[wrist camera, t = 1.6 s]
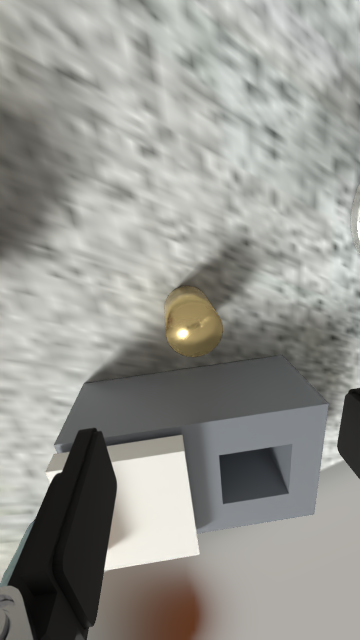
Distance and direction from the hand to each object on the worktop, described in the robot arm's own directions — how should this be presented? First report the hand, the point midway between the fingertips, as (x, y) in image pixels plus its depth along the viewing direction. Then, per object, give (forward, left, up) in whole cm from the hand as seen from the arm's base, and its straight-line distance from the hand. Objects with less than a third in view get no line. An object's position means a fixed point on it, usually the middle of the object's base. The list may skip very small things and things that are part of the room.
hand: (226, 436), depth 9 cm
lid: (+7, +14, -8) cm, 17 cm away
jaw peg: (0, 0, -16) cm, 16 cm away
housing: (+1, +14, -16) cm, 21 cm away
